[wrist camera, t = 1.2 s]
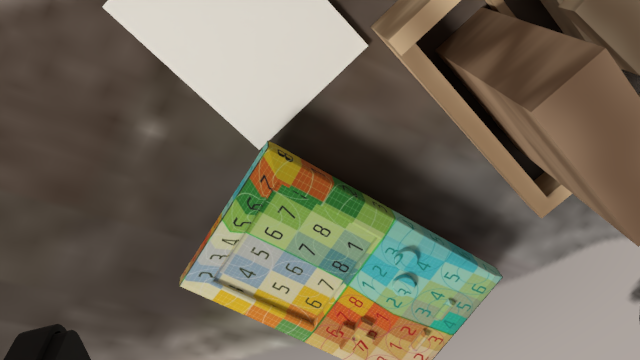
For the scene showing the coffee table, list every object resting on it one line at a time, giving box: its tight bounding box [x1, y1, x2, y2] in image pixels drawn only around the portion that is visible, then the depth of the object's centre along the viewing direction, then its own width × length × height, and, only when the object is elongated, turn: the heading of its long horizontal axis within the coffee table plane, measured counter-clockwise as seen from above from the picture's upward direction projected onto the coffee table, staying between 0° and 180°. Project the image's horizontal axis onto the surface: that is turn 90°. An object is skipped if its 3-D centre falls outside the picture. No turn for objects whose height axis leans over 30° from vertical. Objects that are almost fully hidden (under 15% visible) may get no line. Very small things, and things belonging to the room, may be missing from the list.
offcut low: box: [540, 0, 622, 70], centre depth 37 cm, size 5×8×3 cm, turn 44°
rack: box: [371, 0, 640, 218], centre depth 36 cm, size 16×18×5 cm
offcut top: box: [558, 0, 640, 76], centre depth 34 cm, size 4×6×2 cm, turn 52°
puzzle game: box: [179, 141, 503, 360], centre depth 41 cm, size 12×5×20 cm
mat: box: [103, 0, 368, 150], centre depth 35 cm, size 10×13×1 cm
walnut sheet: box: [435, 7, 640, 246], centre depth 33 cm, size 4×10×14 cm, turn 43°
